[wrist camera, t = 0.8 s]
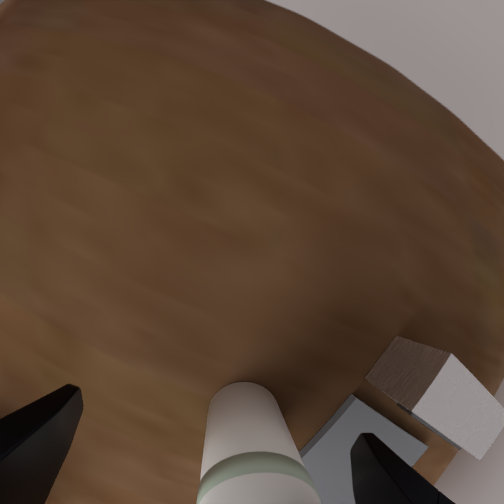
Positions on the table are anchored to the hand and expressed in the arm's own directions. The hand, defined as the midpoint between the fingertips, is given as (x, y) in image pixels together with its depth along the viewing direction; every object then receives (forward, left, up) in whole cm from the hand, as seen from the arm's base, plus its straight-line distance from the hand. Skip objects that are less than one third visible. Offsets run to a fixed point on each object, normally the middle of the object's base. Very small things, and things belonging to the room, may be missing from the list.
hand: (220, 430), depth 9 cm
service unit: (-8, -14, -13) cm, 21 cm away
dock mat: (-13, -7, -13) cm, 20 cm away
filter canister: (-5, 0, -13) cm, 14 cm away
